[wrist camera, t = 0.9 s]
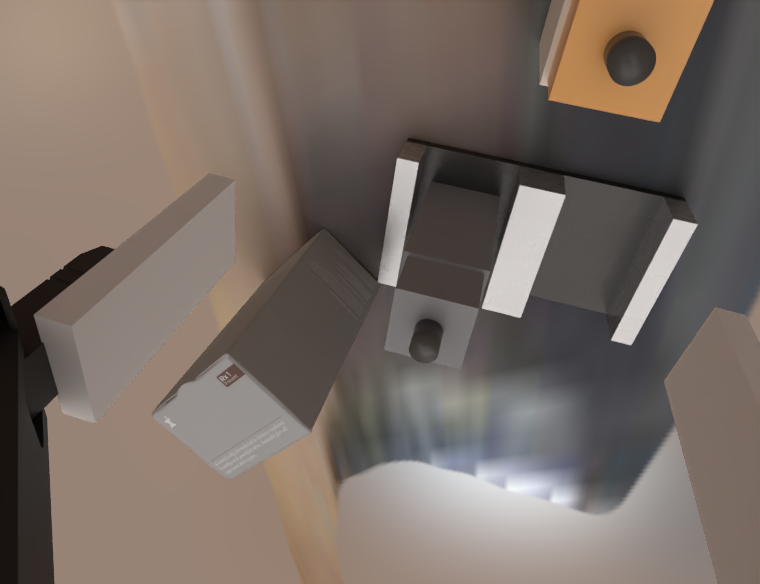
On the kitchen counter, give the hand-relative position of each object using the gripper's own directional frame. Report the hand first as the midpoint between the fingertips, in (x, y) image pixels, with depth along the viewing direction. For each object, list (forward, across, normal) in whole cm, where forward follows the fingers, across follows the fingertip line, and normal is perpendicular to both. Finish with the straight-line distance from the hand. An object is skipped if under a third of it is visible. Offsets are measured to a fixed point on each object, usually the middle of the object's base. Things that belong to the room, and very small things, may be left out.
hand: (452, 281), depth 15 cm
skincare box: (+21, -9, -17) cm, 28 cm away
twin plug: (+20, 0, -9) cm, 22 cm away
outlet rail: (+21, +4, -8) cm, 23 cm away
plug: (+21, +4, +5) cm, 22 cm away
